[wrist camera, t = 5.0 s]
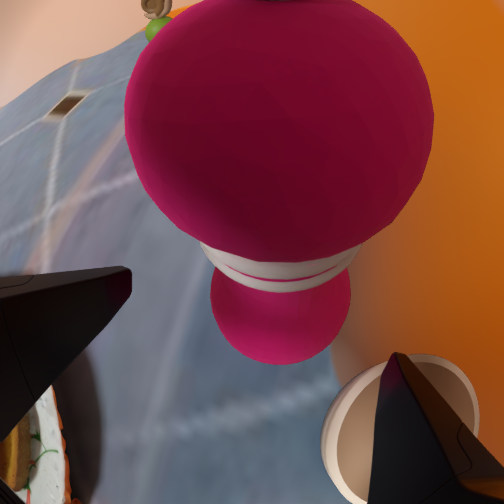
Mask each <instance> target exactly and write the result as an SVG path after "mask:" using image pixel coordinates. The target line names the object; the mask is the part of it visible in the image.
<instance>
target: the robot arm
mask: <svg viewBox="0 0 504 504" xmlns="http://www.w3.org/2000/svg"><path fill="white" fill-rule="evenodd" d="M131 292H132V272H131V270H130V269H129V268H126V267H124V266H113V267H104V268H94V269H85V270H75V271H66V272H56V273H47V274H37V275H27V276H16V277H1V278H0V443H2V442H3V441H4V440H5V439H6V438H7V436H8V435H9V434H10V433H11V431H12V430H13V429H14V428H15V427H16V425H17V424H18V423H19V422H20V421H21V419H22V418H23V417H24V416H25V415H26V414H27V412H28V411H29V410H30V409H31V408H32V407H33V405H34V404H35V402H37V401H38V399H39V398H40V397H41V396H42V395H43V394H44V393H45V391H46V390H47V389H48V388H49V387H50V386H51V385H52V384H53V383H54V381H55V380H56V379H57V378H58V377H59V376H60V375H61V374H62V373H63V371H64V370H65V369H66V368H67V367H68V366H69V365H70V364H71V363H72V362H73V361H74V359H75V358H76V357H77V356H78V355H79V354H80V353H81V352H82V351H83V350H84V349H85V348H86V347H87V346H88V345H89V344H90V342H91V341H92V340H93V339H94V338H95V337H96V336H97V335H98V334H99V333H100V332H101V331H102V330H103V329H104V328H105V327H106V326H107V324H108V323H109V322H110V321H111V320H112V318H113V317H114V316H115V314H116V313H117V312H118V311H119V309H120V308H121V307H122V306H123V304H124V303H125V302H126V301H127V299H128V298H129V297H130V295H131ZM0 504H27V503H26V502H25V501H24V500H22V499H21V498H20V497H19V496H18V495H17V494H16V493H15V492H14V491H13V490H12V489H11V488H10V487H9V486H8V485H7V483H6V482H5V481H4V480H3V479H2V478H1V477H0ZM367 504H504V467H503V466H502V465H501V464H500V463H499V462H498V461H497V460H496V459H495V457H494V456H493V455H492V454H491V453H490V452H489V451H488V450H487V449H486V448H485V447H484V446H483V445H482V443H481V442H480V441H479V440H478V439H477V438H476V437H475V435H474V434H473V433H472V432H471V431H470V430H469V428H468V427H467V426H466V424H465V423H464V422H462V420H461V418H460V417H459V416H458V415H457V414H456V412H455V411H454V410H453V409H452V408H451V406H450V405H449V404H448V403H447V402H446V400H445V399H444V398H443V397H442V396H441V394H440V393H439V392H438V391H437V390H436V389H435V387H434V386H433V385H432V384H431V383H430V382H429V380H428V379H427V378H426V377H425V376H424V375H423V374H422V372H421V371H420V370H419V369H418V368H417V367H416V365H415V364H414V363H413V362H412V361H411V360H410V359H409V358H408V356H407V355H405V354H402V353H398V352H394V353H393V354H392V355H391V357H390V359H389V360H388V362H387V364H386V366H385V368H384V370H383V372H382V374H381V378H380V385H379V393H378V400H377V406H376V413H375V422H374V439H373V454H372V465H371V476H370V485H369V493H368V501H367Z"/></svg>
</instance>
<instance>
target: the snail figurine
mask: <svg viewBox="0 0 504 504" xmlns="http://www.w3.org/2000/svg"><path fill="white" fill-rule="evenodd" d="M141 6H142V8H143V10H144V11H145V12H147V13H148V14H144V16H145V17H147V18H148V19H153V20H152V21H150V23H149V24H148V25H147V27H146V31H145V34H146V38H147V40H148V41H149V42H150V41H151V40H152V39H153V38H154V36H155V35H156V34H157V33H158V32H159V31H160V29H161V28H162V27H164V26H165V25H166V24H167V23H168V22H169V21H171V20H172V18H170V17H167V16H166V15H167V14H168V13H169V12H170V10H171V7H172V0H141Z"/></svg>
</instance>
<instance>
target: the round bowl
mask: <svg viewBox="0 0 504 504" xmlns="http://www.w3.org/2000/svg"><path fill="white" fill-rule="evenodd" d="M407 356H408V358H409V359H410V360H411V361H412V362H413V363H414V364H415V365H416V367H417V368H418V369H419V370H420V371H421V372H422V374H423V375H424V376H425V377H426V378H427V379H428V380H429V382H430V383H431V384H432V385H433V386H434V387H435V389H436V390H437V391H438V392H439V393H440V394H441V396H442V397H443V398H444V399H445V400H446V402H447V403H448V404H449V405H450V406H451V408H452V409H453V410H454V411H455V412H456V414H457V415H458V416H459V417H460V418H461V420H462V422H464V423H465V424H466V426H467V427H468V428H469V430H470V431H471V432H472V433H473V434H474V435H475V437H476V438H477V436H478V431H479V418H480V417H479V414H480V413H479V404H478V400H477V396H476V394H475V391H474V388H473V386H472V384H471V382H470V381H469V379H468V378H467V376H466V375H465V374H464V373H463V372H462V371H461V370H460V369H459V368H458V367H457V366H456V365H454V364H453V363H451V362H450V361H448V360H446V359H444V358H441V357H438V356H435V355H429V354H412V355H407ZM387 362H388V361H386V362H383V363H380V364H377V365H375V366H372V367H370V368H368V369H366V370H365V371H363V372H361V373H360V374H358V375H357V376H355V377H354V378H353V379H352V380H351V381H350V382H348V383H347V384H346V385H345V386H344V387H343V388H342V390H341V391H340V392H339V393H338V395H337V396H336V397H335V399H334V400H333V402H332V404H331V405H330V407H329V409H328V411H327V414H326V416H325V418H324V422H323V425H322V429H321V436H320V450H321V457H322V461H323V464H324V466H325V469H326V471H327V473H328V474H329V476H330V478H331V479H332V481H333V482H334V484H335V485H336V487H337V488H338V490H339V491H340V493H341V494H342V495H343V496H344V497H345V498H346V499H347V500H348V501H350V502H351V503H353V504H367V501H368V493H369V485H370V476H371V465H372V454H373V439H374V422H375V413H376V406H377V400H378V393H379V385H380V378H381V374H382V372H383V370H384V368H385V366H386V364H387Z"/></svg>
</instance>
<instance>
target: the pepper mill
mask: <svg viewBox="0 0 504 504" xmlns="http://www.w3.org/2000/svg"><path fill="white" fill-rule="evenodd" d="M124 112H125V136H126V140H127V143H128V146H129V150H130V153H131V156H132V159H133V162H134V165H135V168H136V171H137V174H138V176H139V178H140V180H141V182H142V185H143V187H144V189H145V191H146V192H147V193H148V194H149V196H150V197H151V198H152V200H153V201H154V202H155V204H156V205H157V206H158V207H159V209H160V210H161V211H162V212H163V213H164V214H165V215H166V216H167V217H168V218H169V219H170V220H171V221H172V222H173V223H174V224H175V225H176V226H177V227H178V228H179V229H181V230H182V231H184V232H186V233H187V234H189V235H191V236H192V237H194V238H196V239H197V240H199V242H200V244H201V246H202V249H203V251H204V252H205V254H206V255H207V257H208V258H209V259H210V260H211V262H212V263H213V264H214V265H215V266H216V267H215V270H214V273H213V277H212V282H211V293H210V299H211V305H212V311H213V314H214V317H215V319H216V322H217V324H218V326H219V328H220V330H221V332H222V334H223V335H224V337H225V338H226V339H227V341H228V342H229V343H230V344H231V345H232V346H233V347H234V348H235V349H237V350H238V351H239V352H241V353H242V354H244V355H245V356H247V357H249V358H251V359H253V360H256V361H259V362H262V363H268V364H274V365H287V364H292V363H298V362H301V361H304V360H306V359H309V358H311V357H313V356H315V355H316V354H318V353H320V352H321V351H323V350H324V349H325V348H326V347H327V346H328V345H329V344H330V343H331V342H332V341H333V340H334V338H335V337H336V336H337V335H338V333H339V331H340V329H341V327H342V325H343V323H344V321H345V319H346V316H347V313H348V309H349V306H350V297H351V291H350V280H349V275H348V270H347V266H348V265H349V264H350V263H351V262H352V260H353V259H354V258H355V256H356V254H357V253H358V251H359V249H360V247H361V245H362V243H363V242H365V241H366V240H368V239H369V238H371V237H372V236H373V235H375V234H376V233H377V232H379V231H381V230H382V229H383V228H385V227H386V226H388V225H389V224H390V223H392V222H393V220H394V219H395V218H396V217H397V215H398V214H399V212H400V211H401V210H402V209H403V207H404V206H405V205H406V203H407V202H408V200H409V198H410V197H411V195H412V194H413V192H414V191H415V189H416V187H417V186H418V184H419V183H420V181H421V179H422V176H423V173H424V170H425V167H426V164H427V161H428V157H429V154H430V151H431V145H432V135H433V124H434V112H433V106H432V100H431V95H430V90H429V86H428V82H427V79H426V76H425V74H424V71H423V69H422V67H421V65H420V63H419V60H418V58H417V56H416V55H415V53H414V52H413V51H412V49H411V48H410V47H409V46H408V44H407V43H406V42H405V41H404V39H403V38H402V37H401V36H400V35H399V34H398V33H397V31H396V30H395V29H394V28H393V27H391V26H390V25H389V24H388V23H387V22H386V21H384V20H383V19H382V18H380V17H379V16H377V15H376V14H374V13H373V12H371V11H369V10H368V9H366V8H364V7H363V6H361V5H359V4H358V3H356V2H354V1H352V0H204V1H202V2H199V3H197V4H195V5H193V6H191V7H189V8H188V9H186V10H185V11H183V12H182V13H180V14H179V15H177V16H176V17H175V18H173V19H172V20H171V21H169V22H168V23H167V24H166V25H165V26H164V27H162V28H161V29H160V31H159V32H158V33H157V34H156V35H155V36H154V38H153V39H152V40H151V41H150V42H149V44H148V45H147V46H146V47H145V49H144V50H143V51H142V52H141V54H140V56H139V58H138V60H137V63H136V65H135V67H134V70H133V72H132V75H131V78H130V80H129V83H128V86H127V90H126V96H125V104H124Z"/></svg>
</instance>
